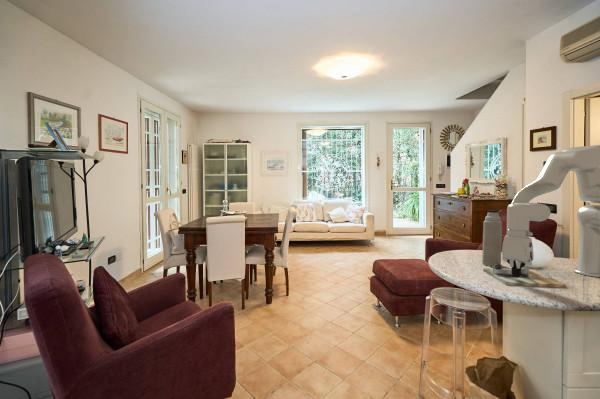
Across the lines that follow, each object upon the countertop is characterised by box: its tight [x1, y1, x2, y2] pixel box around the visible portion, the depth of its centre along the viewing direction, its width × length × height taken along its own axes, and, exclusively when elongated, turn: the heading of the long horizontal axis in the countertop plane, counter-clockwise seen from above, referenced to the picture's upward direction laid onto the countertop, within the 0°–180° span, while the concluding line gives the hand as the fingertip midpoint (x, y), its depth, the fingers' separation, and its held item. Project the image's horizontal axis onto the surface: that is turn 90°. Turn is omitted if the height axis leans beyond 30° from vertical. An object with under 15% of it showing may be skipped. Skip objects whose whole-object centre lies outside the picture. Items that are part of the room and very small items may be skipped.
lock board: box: [482, 266, 567, 288], centre depth 130 cm, size 22×20×4 cm
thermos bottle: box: [481, 209, 503, 268], centre depth 151 cm, size 8×8×28 cm
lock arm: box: [494, 263, 530, 276], centre depth 131 cm, size 13×4×4 cm, turn 76°
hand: (516, 276), depth 124 cm, fingers closed
